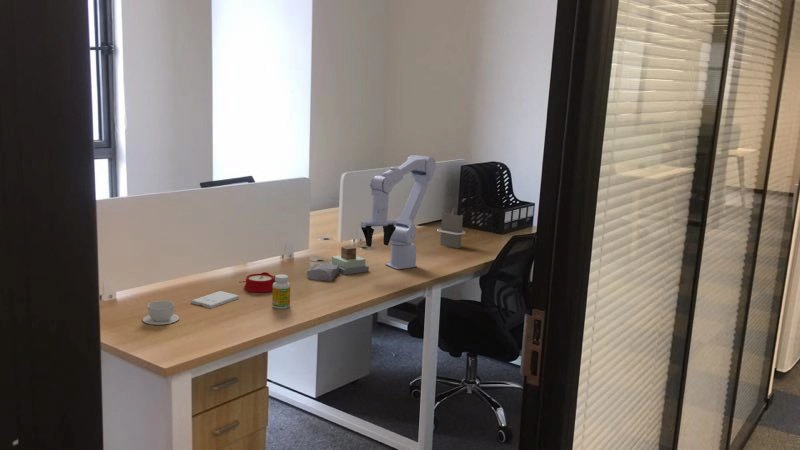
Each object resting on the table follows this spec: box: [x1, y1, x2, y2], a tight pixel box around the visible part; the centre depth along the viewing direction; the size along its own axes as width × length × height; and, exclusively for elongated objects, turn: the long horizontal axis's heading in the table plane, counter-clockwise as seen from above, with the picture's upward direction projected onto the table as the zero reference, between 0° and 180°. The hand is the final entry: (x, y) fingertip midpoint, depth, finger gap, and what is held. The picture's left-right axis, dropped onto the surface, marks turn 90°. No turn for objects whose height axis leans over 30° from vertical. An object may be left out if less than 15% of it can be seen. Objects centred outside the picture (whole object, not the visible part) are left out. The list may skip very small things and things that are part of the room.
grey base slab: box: [327, 261, 370, 275], centre depth 271 cm, size 11×11×2 cm
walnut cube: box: [340, 245, 357, 260], centre depth 270 cm, size 4×4×4 cm
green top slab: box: [331, 254, 366, 269], centre depth 271 cm, size 9×9×2 cm
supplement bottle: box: [271, 273, 291, 310], centre depth 224 cm, size 5×5×10 cm
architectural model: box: [436, 212, 466, 249], centre depth 316 cm, size 20×25×15 cm
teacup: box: [142, 300, 180, 326], centre depth 207 cm, size 10×10×5 cm
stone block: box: [306, 262, 339, 281], centre depth 261 cm, size 12×5×10 cm
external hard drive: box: [190, 290, 240, 309], centre depth 227 cm, size 2×8×12 cm
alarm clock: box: [239, 271, 277, 294], centre depth 243 cm, size 10×6×15 cm
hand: (377, 245), depth 266 cm, fingers open, 7 cm apart
